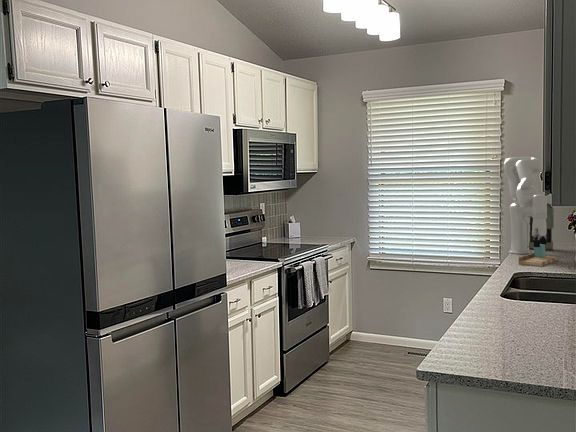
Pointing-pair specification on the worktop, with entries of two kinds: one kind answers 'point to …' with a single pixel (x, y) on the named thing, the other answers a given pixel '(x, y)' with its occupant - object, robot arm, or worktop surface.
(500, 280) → the worktop surface
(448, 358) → the worktop surface
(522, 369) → the worktop surface
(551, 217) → the device
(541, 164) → the robot arm
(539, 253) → the teal upright block
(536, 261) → the board
